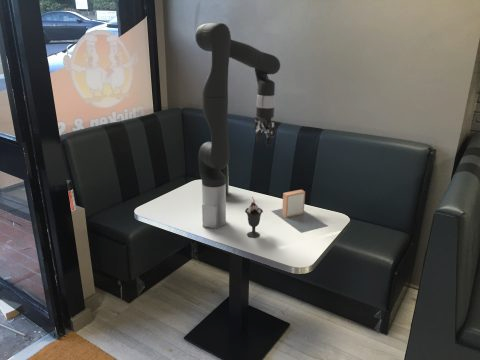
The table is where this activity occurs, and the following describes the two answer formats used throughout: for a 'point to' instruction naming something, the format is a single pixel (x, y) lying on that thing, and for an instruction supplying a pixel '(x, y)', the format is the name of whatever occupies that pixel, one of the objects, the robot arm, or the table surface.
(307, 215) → the slate board
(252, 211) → the sundae
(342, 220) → the table surface
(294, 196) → the terracotta brick
